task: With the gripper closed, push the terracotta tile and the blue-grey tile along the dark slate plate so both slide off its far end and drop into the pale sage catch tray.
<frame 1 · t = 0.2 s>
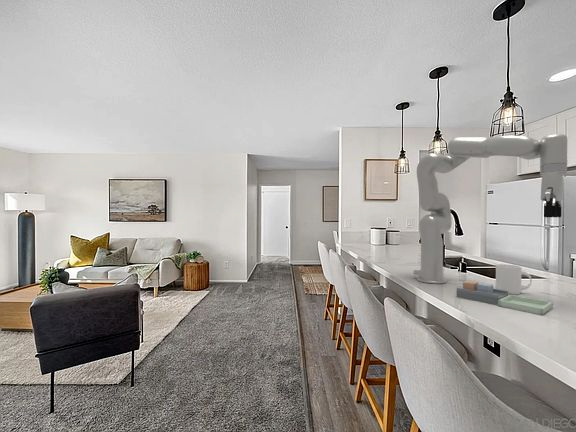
hand: (552, 217, 113), 31 cm above the table, fingers open, 9 cm apart
catch tray: (525, 307, 108), on the table
tile rear: (470, 289, 121), point 2 cm above the table, touching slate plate
mug: (513, 292, 128), on the table
tile front: (484, 292, 117), point 2 cm above the table, touching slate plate
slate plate: (481, 298, 118), on the table
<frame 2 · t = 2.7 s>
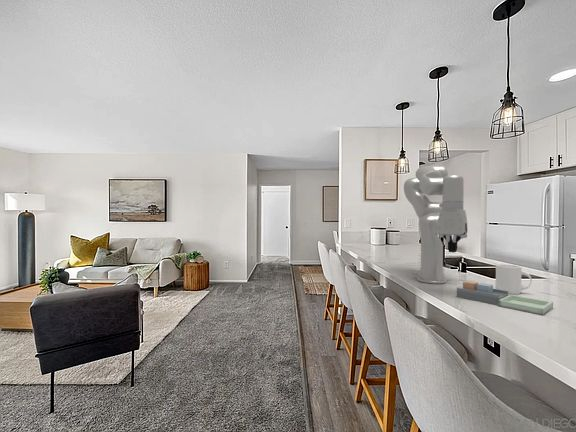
hand: (452, 252, 126), 17 cm above the table, fingers closed
nothing on the table moved.
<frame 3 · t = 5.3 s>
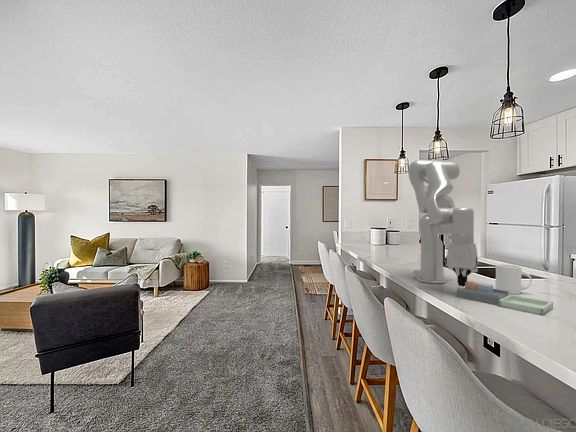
hand: (462, 285, 123), 4 cm above the table, fingers closed
tile rear: (472, 290, 121), point 3 cm above the table, touching gripper
everything else where it was.
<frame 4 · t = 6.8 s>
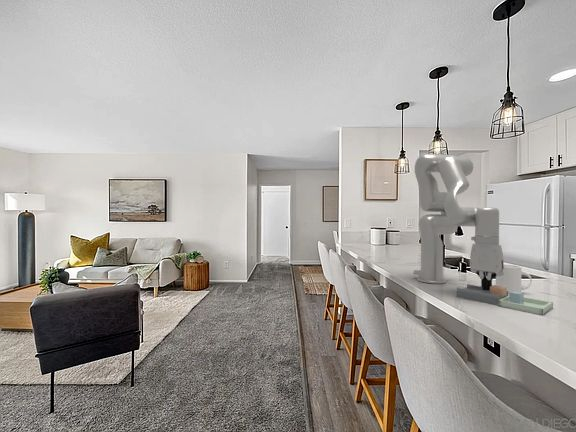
hand: (486, 289, 117), 4 cm above the table, fingers closed
tile rear: (498, 294, 114), point 3 cm above the table, touching gripper
tile front: (511, 297, 111), point 2 cm above the table, tilted 89°, touching catch tray
everything else where it was.
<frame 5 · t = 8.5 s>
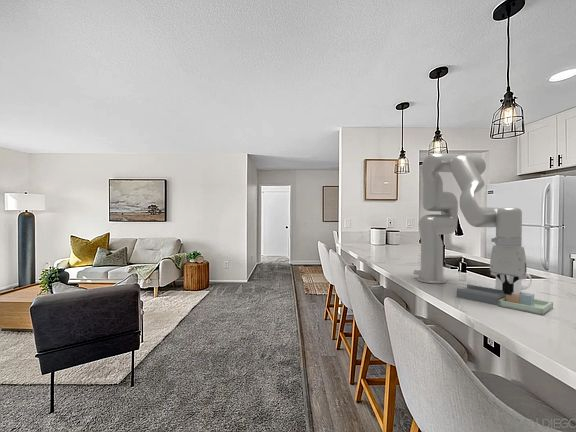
hand: (507, 293, 111), 4 cm above the table, fingers closed
tile rear: (514, 303, 110), resting on catch tray, touching gripper
tile front: (521, 299, 108), point 2 cm above the table, tilted 90°, touching catch tray
everything else where it was.
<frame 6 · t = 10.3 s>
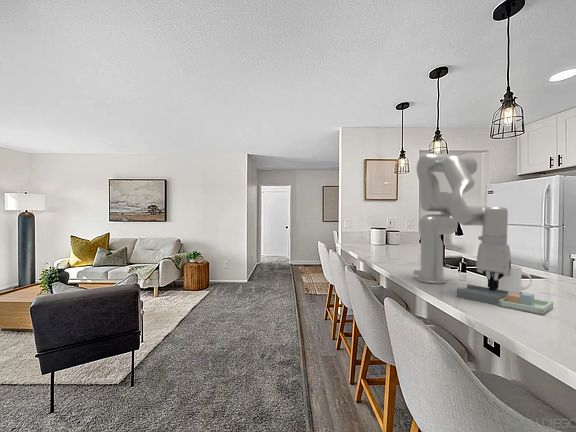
hand: (492, 290, 115), 4 cm above the table, fingers closed
tile rear: (514, 303, 110), resting on catch tray
everything else where it was.
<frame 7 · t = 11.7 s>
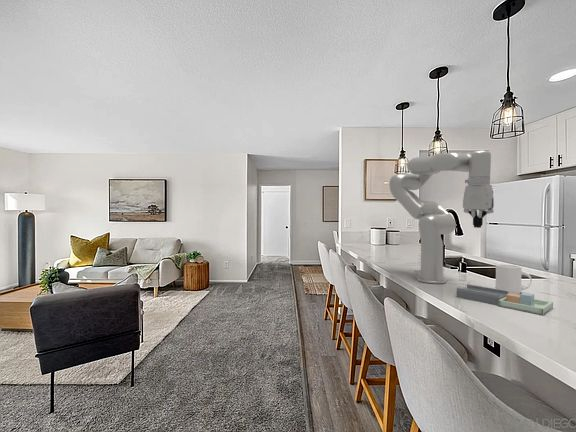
hand: (477, 227, 127), 27 cm above the table, fingers closed
nothing on the table moved.
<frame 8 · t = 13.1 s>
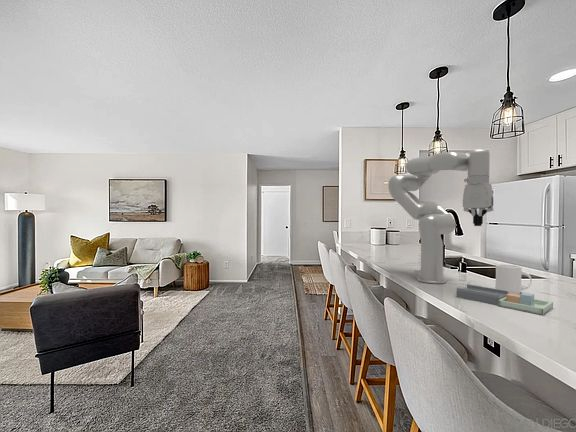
hand: (477, 225, 127), 27 cm above the table, fingers closed
nothing on the table moved.
at the end: tile front inside the target area (1.8 cm from its centre), point 2.5 cm above the table; tile rear inside the target area (3.9 cm from its centre), point 0.5 cm above the table; tile front touching catch tray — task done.
